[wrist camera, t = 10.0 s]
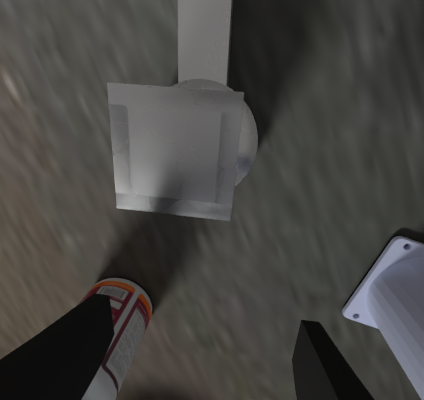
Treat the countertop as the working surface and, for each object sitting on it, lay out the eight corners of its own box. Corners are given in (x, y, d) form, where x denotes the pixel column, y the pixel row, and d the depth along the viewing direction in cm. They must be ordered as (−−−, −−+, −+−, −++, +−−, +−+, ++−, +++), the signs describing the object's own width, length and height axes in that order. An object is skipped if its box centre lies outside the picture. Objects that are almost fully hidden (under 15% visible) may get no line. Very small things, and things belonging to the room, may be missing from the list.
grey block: (244, 97, 14) (244, 92, 8) (235, 179, 16) (230, 221, 10) (160, 91, 14) (107, 82, 9) (161, 172, 16) (116, 207, 10)
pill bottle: (80, 295, 24) (-49, 445, 13) (118, 263, 22) (3, 408, 11) (126, 335, 25) (42, 501, 15) (167, 307, 23) (104, 476, 13)
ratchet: (250, 190, 18) (252, 217, 14) (157, 182, 19) (130, 206, 14) (293, -211, 11) (326, -415, 7) (143, -200, 12) (83, -379, 7)
